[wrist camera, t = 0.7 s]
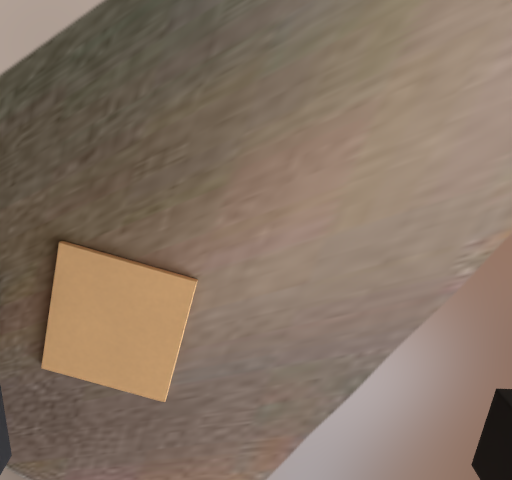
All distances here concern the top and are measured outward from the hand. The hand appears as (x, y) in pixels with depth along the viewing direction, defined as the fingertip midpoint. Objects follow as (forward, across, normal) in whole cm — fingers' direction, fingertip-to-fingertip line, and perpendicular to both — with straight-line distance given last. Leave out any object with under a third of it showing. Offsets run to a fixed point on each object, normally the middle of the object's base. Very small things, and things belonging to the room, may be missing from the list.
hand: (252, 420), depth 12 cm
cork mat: (+23, -10, -12) cm, 27 cm away
